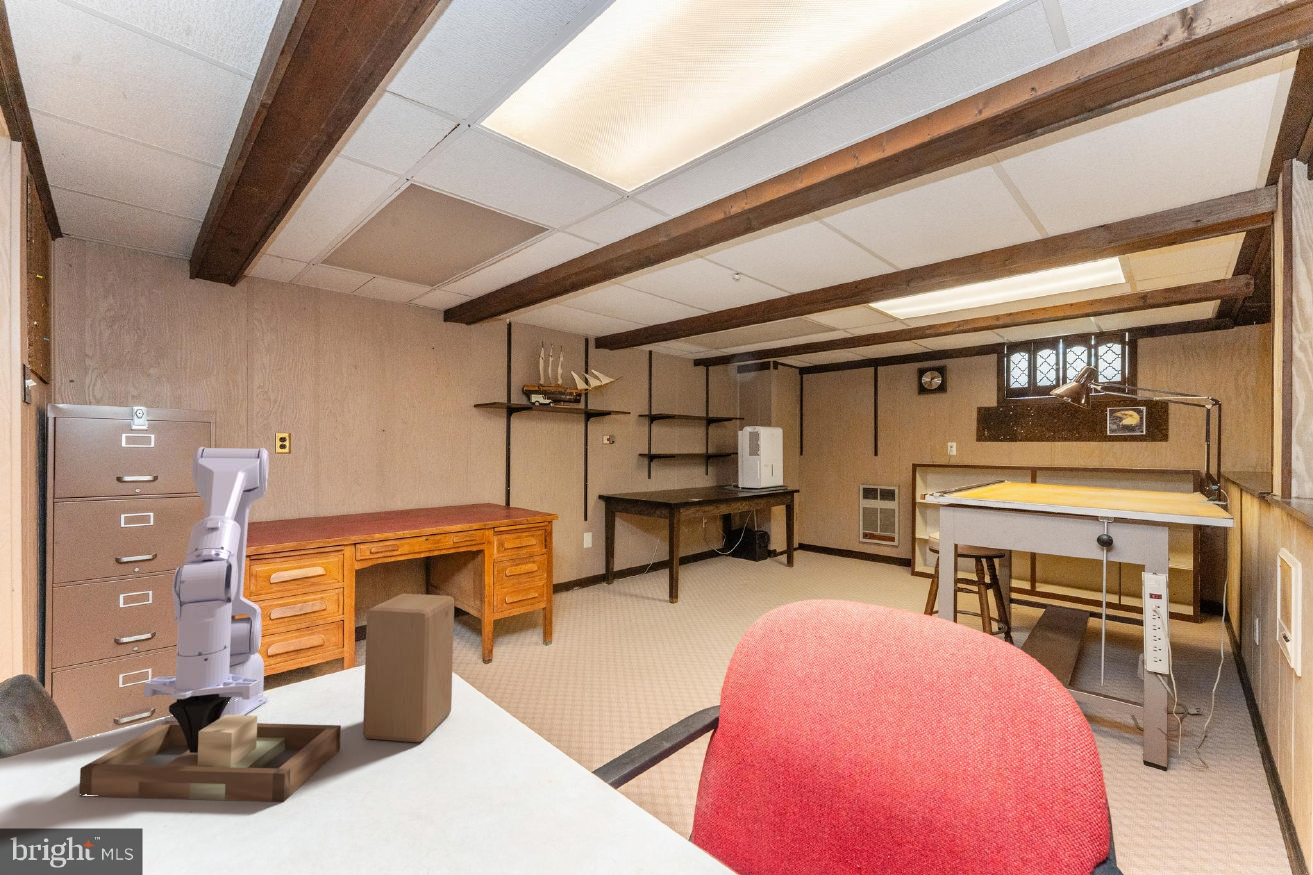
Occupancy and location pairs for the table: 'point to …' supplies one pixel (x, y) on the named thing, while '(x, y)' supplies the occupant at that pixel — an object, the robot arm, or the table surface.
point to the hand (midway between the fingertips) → (200, 748)
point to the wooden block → (408, 667)
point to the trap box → (173, 772)
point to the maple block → (227, 740)
